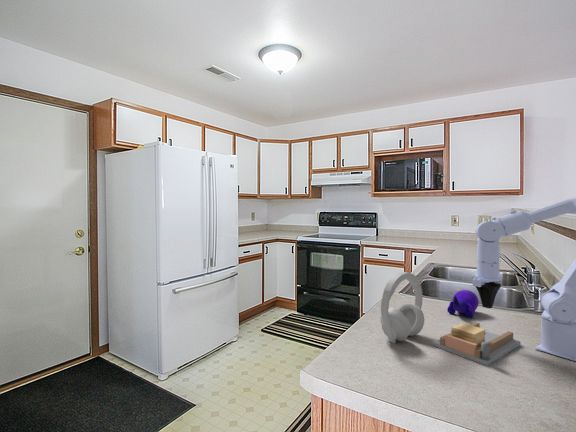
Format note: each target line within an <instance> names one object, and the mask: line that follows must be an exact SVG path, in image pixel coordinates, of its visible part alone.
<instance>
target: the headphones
mask: <svg viewBox="0 0 576 432" xmlns="http://www.w3.org/2000/svg"><path fill="white" fill-rule="evenodd" d="M405 280H407V282H409V284H410V286H411V287H412V288H413V290H414V296H415V297H414V298H415V299H414V303H409V302H407V303H404V304H402V305H401V306H399V308H398V309H397V308H395V307H390V300H391V298H392V297H393V296H394V293H395V291H396V289H397V288H398V286H399V285H400V284H401V283H403V281H405ZM422 307H423V289H422V285H421V282H420V280H419V278H418V277H417V276H416V275H415V274H413V273H411V272H406V271H399V272H396V273H395V274H393V275H392V276H391V277H390V278H389V280H388V281H387V282H386V283H385V285H384V288H383V293H382V297H381V302H380V315H381V316H380V317H379V318H380V324H381V329H382V332H383V334H384V335H385V337H387V339H388V342H389V343H392V344H396V342H405V340H406V339H407V338H408V337H414V336H417V335H418V334H419V333H421V331H422V330H423V327H424V325H425V314H424V312H423V310H422Z"/></svg>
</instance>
